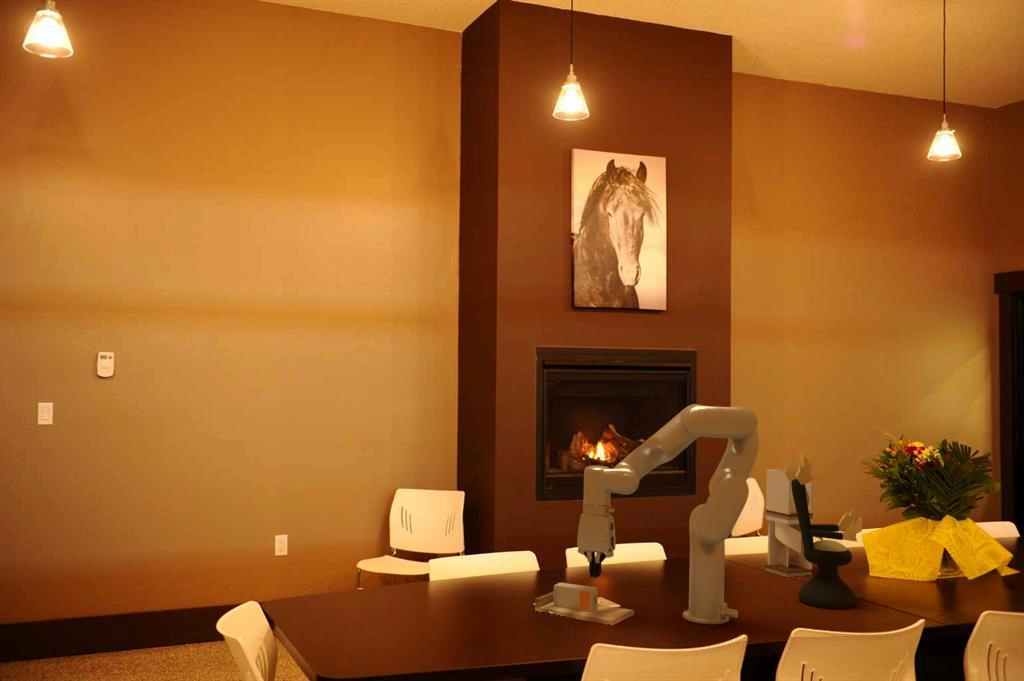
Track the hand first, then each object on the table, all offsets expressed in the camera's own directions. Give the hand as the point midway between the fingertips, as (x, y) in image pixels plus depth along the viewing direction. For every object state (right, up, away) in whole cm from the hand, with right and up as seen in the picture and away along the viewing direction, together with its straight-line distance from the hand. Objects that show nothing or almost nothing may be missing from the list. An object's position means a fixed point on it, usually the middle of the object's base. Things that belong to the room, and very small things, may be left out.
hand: (595, 576), depth 269 cm
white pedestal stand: (+72, -15, +63) cm, 97 cm away
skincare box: (0, -6, -1) cm, 6 cm away
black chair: (+69, -13, +21) cm, 74 cm away
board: (-3, -11, +1) cm, 11 cm away
